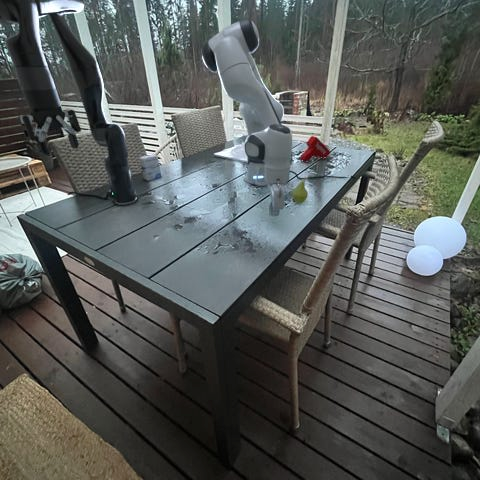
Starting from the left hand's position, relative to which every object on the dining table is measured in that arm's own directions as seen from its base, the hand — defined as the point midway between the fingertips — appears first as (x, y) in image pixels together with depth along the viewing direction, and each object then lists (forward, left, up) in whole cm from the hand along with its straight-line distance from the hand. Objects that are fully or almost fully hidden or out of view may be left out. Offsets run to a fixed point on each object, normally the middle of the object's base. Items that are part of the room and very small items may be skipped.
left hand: (61, 151), depth 78 cm
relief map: (-3, +121, -31) cm, 125 cm away
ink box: (-28, +57, -31) cm, 71 cm away
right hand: (+50, +43, -26) cm, 71 cm away
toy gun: (+42, +131, -31) cm, 141 cm away
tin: (+50, +43, -27) cm, 71 cm away
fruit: (+53, +65, -31) cm, 90 cm away
